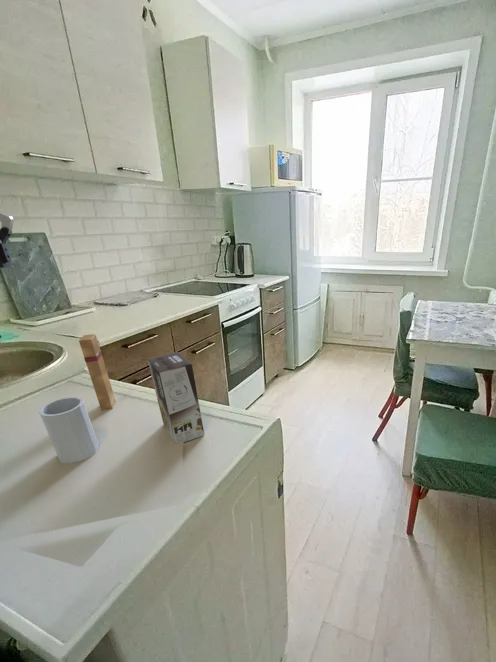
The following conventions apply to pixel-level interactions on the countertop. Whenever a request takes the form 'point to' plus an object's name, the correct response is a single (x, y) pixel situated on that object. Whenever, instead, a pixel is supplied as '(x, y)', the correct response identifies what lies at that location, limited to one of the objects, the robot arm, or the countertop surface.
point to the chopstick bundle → (97, 371)
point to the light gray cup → (69, 429)
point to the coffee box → (177, 396)
